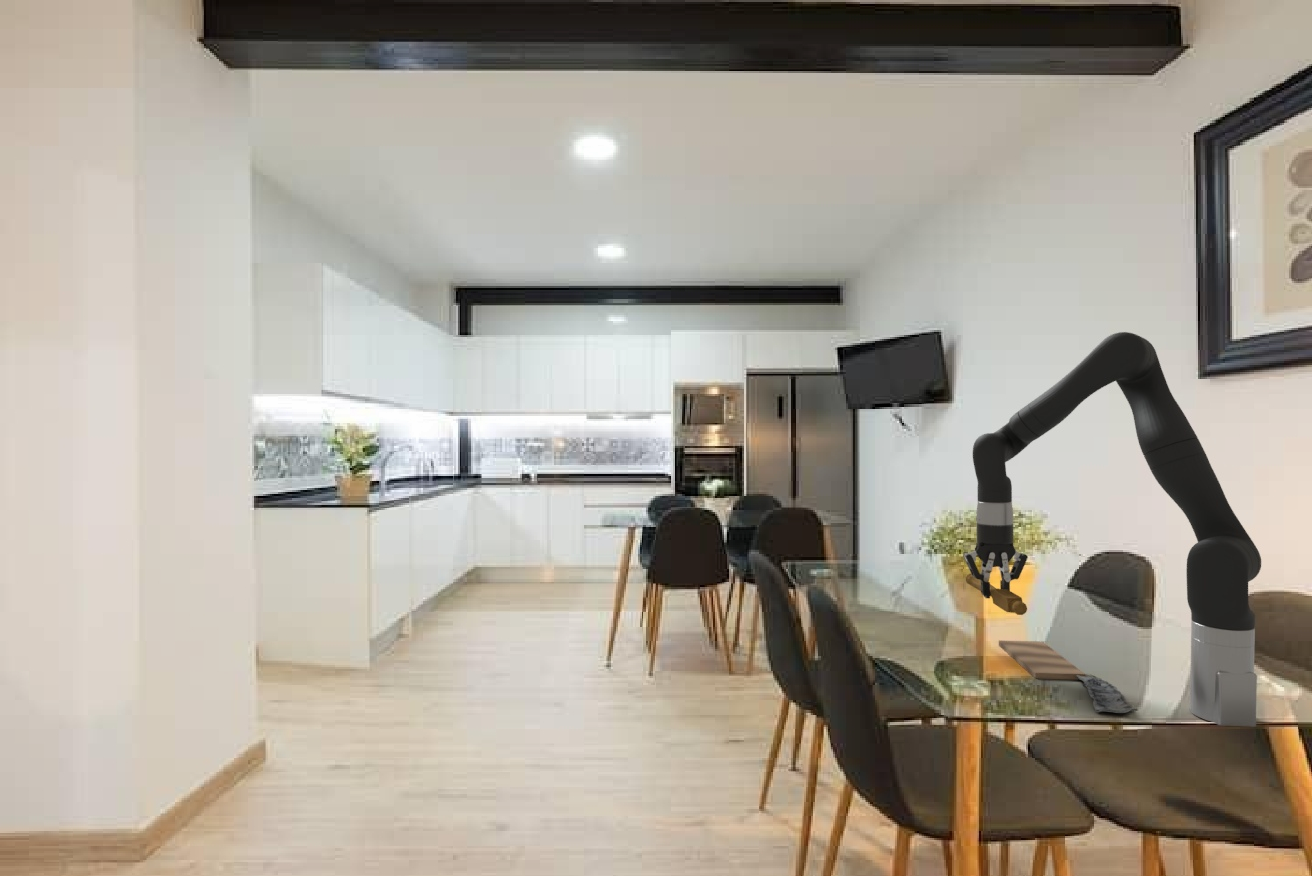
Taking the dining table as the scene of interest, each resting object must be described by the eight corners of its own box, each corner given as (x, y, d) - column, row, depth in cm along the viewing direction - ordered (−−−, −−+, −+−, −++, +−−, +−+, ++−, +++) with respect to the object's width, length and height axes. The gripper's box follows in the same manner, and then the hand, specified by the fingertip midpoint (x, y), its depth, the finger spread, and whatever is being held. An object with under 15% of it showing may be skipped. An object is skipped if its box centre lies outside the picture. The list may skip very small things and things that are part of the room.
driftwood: (1072, 677, 155) (1072, 667, 155) (1108, 679, 153) (1108, 670, 153) (1096, 714, 136) (1096, 703, 136) (1138, 718, 134) (1138, 706, 134)
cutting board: (1085, 679, 153) (1085, 674, 153) (1035, 678, 154) (1035, 672, 154) (1042, 646, 175) (1042, 641, 175) (998, 645, 176) (998, 640, 176)
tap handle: (977, 572, 180) (1029, 602, 150) (977, 585, 180) (1030, 617, 150) (964, 572, 180) (1014, 602, 150) (964, 585, 180) (1014, 617, 150)
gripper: (967, 524, 161) (968, 601, 161) (1034, 523, 160) (1035, 602, 160) (957, 519, 169) (957, 593, 169) (1020, 519, 167) (1021, 593, 168)
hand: (995, 597), depth 164 cm, fingers closed on tap handle, 3 cm apart
